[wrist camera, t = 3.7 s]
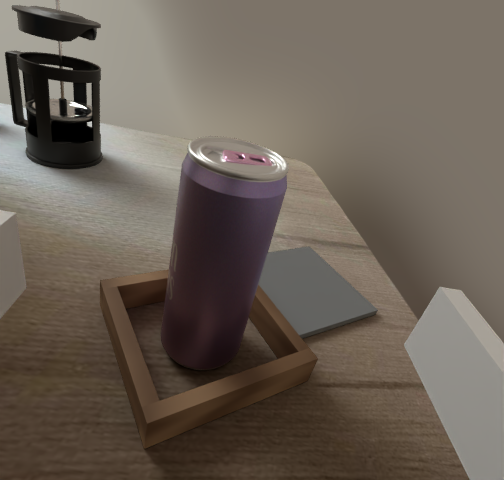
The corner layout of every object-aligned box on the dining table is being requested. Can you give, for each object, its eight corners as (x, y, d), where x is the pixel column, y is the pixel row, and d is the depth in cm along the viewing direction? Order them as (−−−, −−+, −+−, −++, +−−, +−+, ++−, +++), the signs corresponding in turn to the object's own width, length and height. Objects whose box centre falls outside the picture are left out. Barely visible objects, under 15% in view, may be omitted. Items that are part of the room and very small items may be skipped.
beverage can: (243, 375, 25) (306, 184, 18) (157, 375, 24) (185, 166, 16) (233, 315, 30) (278, 144, 23) (161, 312, 29) (183, 128, 21)
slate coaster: (286, 343, 29) (288, 338, 28) (225, 263, 36) (226, 258, 36) (375, 314, 35) (377, 310, 34) (307, 250, 42) (309, 246, 42)
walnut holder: (144, 448, 20) (147, 423, 19) (100, 304, 28) (100, 280, 27) (307, 380, 26) (318, 358, 25) (232, 279, 34) (238, 258, 33)
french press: (117, 154, 54) (122, -32, 42) (87, 176, 46) (81, -47, 34) (40, 135, 53) (23, -58, 42) (-4, 153, 45) (-41, -80, 33)
